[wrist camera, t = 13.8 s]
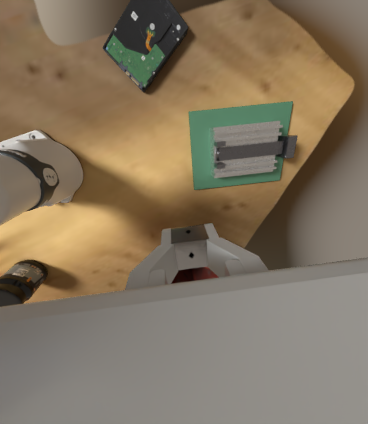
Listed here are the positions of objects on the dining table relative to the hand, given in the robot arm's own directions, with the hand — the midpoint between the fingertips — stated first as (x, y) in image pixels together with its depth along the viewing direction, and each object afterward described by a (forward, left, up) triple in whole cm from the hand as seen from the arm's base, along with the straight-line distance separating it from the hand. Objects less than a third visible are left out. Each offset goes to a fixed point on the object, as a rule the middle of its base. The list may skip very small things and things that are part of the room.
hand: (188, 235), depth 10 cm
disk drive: (-3, +23, -40) cm, 46 cm away
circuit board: (+18, 0, -39) cm, 43 cm away
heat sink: (+20, 0, -38) cm, 43 cm away
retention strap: (+19, 0, -35) cm, 40 cm away
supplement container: (-54, -33, -39) cm, 75 cm away
